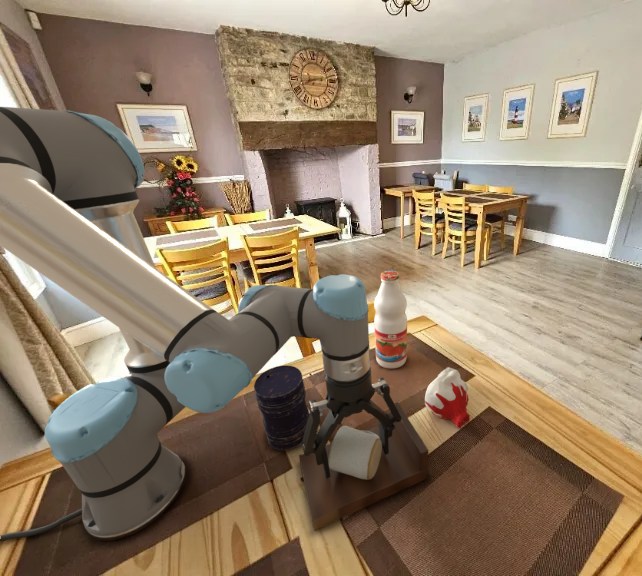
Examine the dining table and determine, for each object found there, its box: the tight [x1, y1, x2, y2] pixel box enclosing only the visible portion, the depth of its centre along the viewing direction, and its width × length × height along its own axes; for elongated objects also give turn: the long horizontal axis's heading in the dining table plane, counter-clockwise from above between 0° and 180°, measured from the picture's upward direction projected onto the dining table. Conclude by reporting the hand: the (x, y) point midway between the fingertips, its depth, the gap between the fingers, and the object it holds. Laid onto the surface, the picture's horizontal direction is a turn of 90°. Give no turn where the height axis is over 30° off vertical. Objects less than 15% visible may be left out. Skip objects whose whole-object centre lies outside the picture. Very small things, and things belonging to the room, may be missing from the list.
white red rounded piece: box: [424, 366, 471, 429], centre depth 73 cm, size 9×11×15 cm
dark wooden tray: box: [298, 402, 429, 531], centre depth 60 cm, size 22×13×8 cm, turn 113°
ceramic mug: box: [329, 425, 382, 480], centre depth 58 cm, size 11×8×8 cm
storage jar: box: [253, 364, 310, 451], centre depth 68 cm, size 10×10×15 cm
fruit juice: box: [373, 270, 408, 369], centre depth 88 cm, size 9×9×28 cm
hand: (356, 459), depth 60 cm, fingers closed on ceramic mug, 11 cm apart
